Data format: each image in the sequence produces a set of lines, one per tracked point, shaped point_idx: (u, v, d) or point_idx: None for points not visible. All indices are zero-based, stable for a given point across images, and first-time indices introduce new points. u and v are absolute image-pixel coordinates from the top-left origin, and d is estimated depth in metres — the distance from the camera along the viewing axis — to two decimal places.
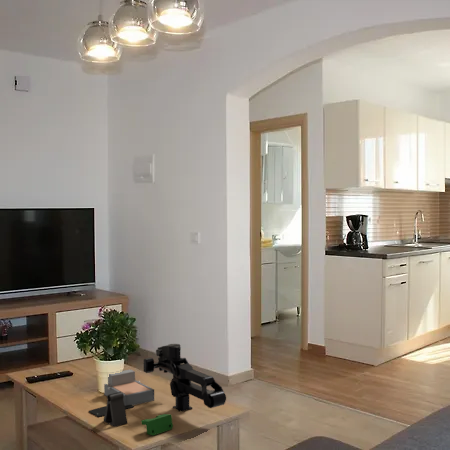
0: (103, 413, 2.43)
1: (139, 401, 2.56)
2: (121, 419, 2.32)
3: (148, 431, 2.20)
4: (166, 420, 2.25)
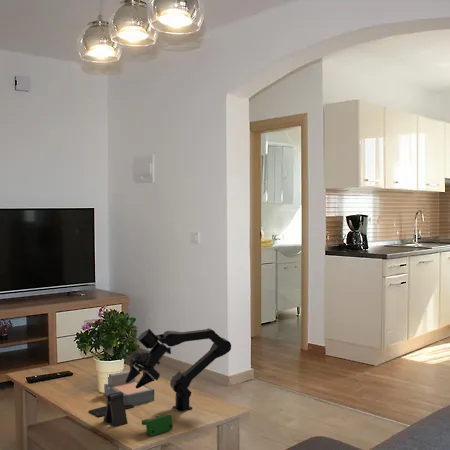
0: (103, 413, 2.43)
1: (139, 401, 2.56)
2: (121, 419, 2.32)
3: (148, 431, 2.20)
4: (166, 420, 2.25)
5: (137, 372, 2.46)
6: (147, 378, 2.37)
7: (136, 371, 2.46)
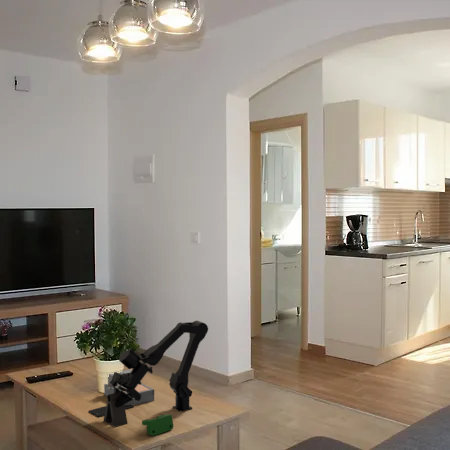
0: (103, 413, 2.43)
1: (139, 401, 2.56)
2: (121, 419, 2.32)
3: (148, 431, 2.20)
4: (167, 420, 2.25)
5: None
6: (125, 398, 2.33)
7: None
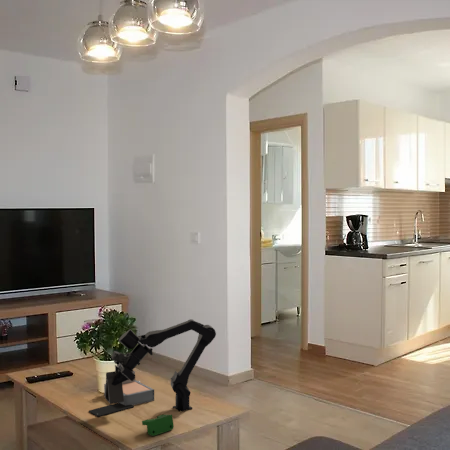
0: (103, 413, 2.43)
1: (139, 401, 2.56)
2: (117, 397, 2.39)
3: (149, 431, 2.20)
4: (167, 420, 2.25)
5: None
6: (122, 377, 2.40)
7: None
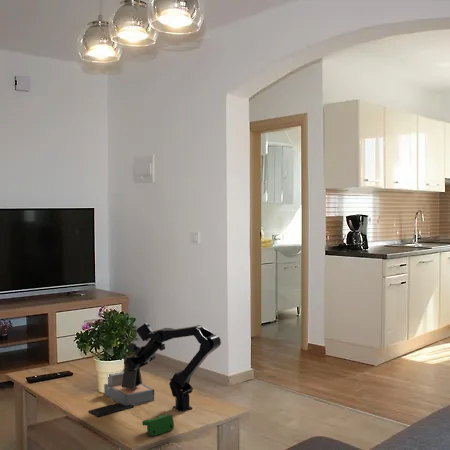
0: (103, 413, 2.43)
1: (139, 401, 2.56)
2: (129, 383, 2.58)
3: (149, 431, 2.20)
4: (167, 420, 2.25)
5: (142, 363, 2.62)
6: None
7: None
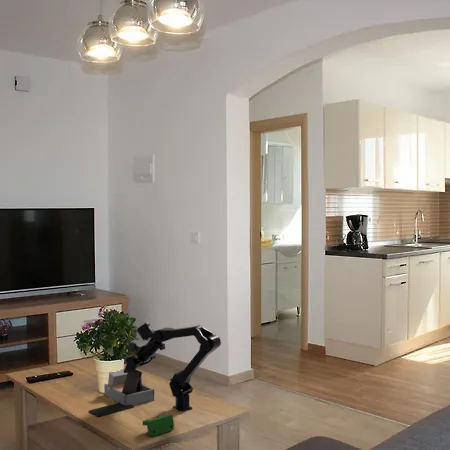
0: (103, 413, 2.43)
1: (139, 401, 2.56)
2: (128, 393, 2.58)
3: (149, 432, 2.19)
4: (167, 420, 2.25)
5: None
6: None
7: None
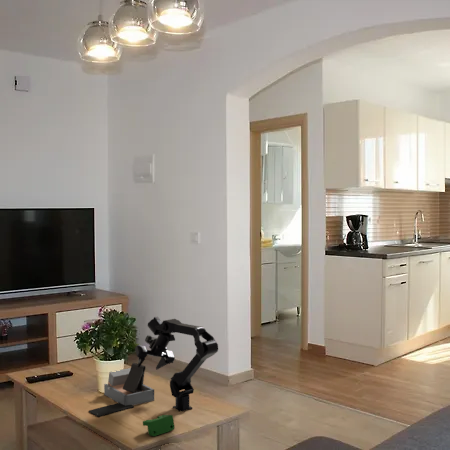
0: (103, 413, 2.43)
1: (139, 401, 2.56)
2: (130, 386, 2.59)
3: (149, 432, 2.19)
4: (168, 420, 2.25)
5: (163, 361, 2.64)
6: None
7: (163, 360, 2.64)
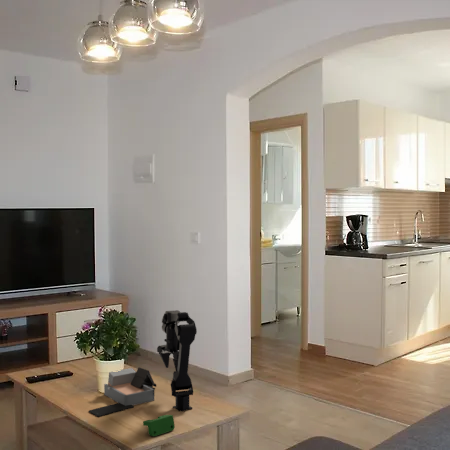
0: (103, 413, 2.43)
1: (139, 401, 2.56)
2: None
3: (150, 432, 2.19)
4: (168, 421, 2.25)
5: None
6: None
7: None
